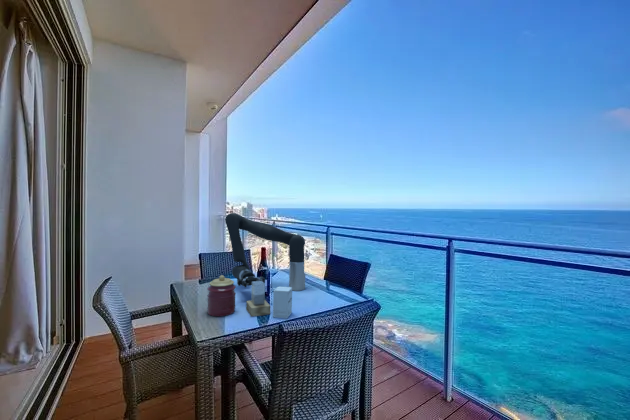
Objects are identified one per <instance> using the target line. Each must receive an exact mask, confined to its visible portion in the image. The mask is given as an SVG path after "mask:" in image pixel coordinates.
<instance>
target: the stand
mask: <svg viewBox="0 0 630 420" xmlns="http://www.w3.org/2000/svg"><path fill="white" fill-rule="evenodd" d="M245 301H246V305H245V310H246V311H247V313H248V314H249V315H250V318H252V317H254V318H255V317H259V316H267V315H270V314H271V305H270V303H268V301H267V300H266V299H265V305H257V306H254V305H253V303H252V302H251V300H245Z"/></svg>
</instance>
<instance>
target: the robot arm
mask: <svg viewBox="0 0 630 420" xmlns="http://www.w3.org/2000/svg"><path fill="white" fill-rule="evenodd" d="M224 219H225V221H224V222H225V225H226V228H227V231H228V235H229V239H230V245H231V253H232V257H233V259H232V260H233V261H234V262H235V263H241V265H235V266H234V267H233V268H232V269H231V274H232V276H233V277H234V278H235V279H236V285H238V287H241V286H242V287H244V288H247V286H252V282H254V281H262V282H263V283H266V278H265V277H263V276H262V275H260V276H256V275H255V273H253V271H251V269H250V267H249V264H248V261H247V259H246V255H245V254H246V253H245V248H244V247H245V246H244V244H243V242H242V238H241V234H240V230H242V231H246V232H248V233H250V234H252V235H254V236H256V237H258V238H260V239H263V240H266V241H270V242H276V243H282V244H284V245H288V256H289V271H288V273H289V275H288V277H289V280H288V281H289V282H288V287H292V292H295V291H296V292H299V291H304V290H306V273H305V245H306V240H305V237H304V236H302V235H300V234H295V233H291V232H287V231H285V230H283V229H280V228H277V227H275V226H273V225H270V224H267V223H264V222H260V221H255V220H252V219H249V218H246V217H244V216H242V215H240V214H238V213H234V212H231V213H228V214H227V215H226V216H225V218H224Z"/></svg>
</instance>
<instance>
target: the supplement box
mask: <svg viewBox="0 0 630 420" xmlns="http://www.w3.org/2000/svg"><path fill="white" fill-rule="evenodd" d="M272 293H273V295H272V297H273V299H272V317H273V318H277V319H285V320H286V319H289V317H290V315H291V314H292V313H293V312H292V311H293V310H292V309H293V290H292V287H289V286H276V288H275V289H274V290H273V292H272Z"/></svg>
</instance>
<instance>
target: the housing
mask: <svg viewBox="0 0 630 420" xmlns="http://www.w3.org/2000/svg"><path fill="white" fill-rule="evenodd" d="M265 283H266V282H265ZM265 283H263V282H262V281H260V280H259V281H254V282H252V285H251V294H250V295H251V299H250V301H251V302H252V303H253V305H254V306H257V305H265V300H266V298H265V297H266V295H265V294H266V293H265V292H266V284H265Z"/></svg>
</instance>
